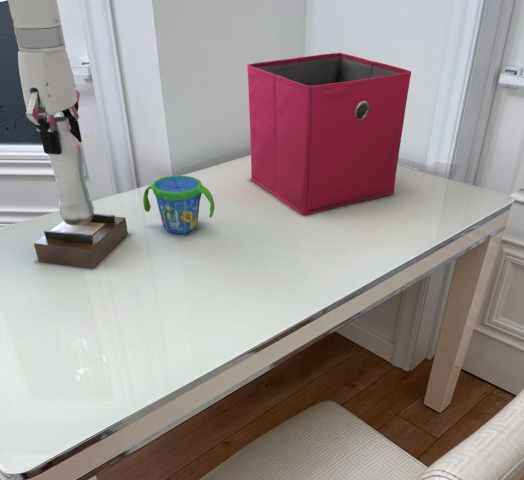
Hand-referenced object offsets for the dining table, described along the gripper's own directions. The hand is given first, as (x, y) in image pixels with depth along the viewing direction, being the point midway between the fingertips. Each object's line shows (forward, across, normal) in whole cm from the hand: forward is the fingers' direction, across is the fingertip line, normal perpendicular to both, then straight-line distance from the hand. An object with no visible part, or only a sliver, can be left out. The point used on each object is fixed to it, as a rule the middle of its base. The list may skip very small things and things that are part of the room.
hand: (63, 146), depth 103 cm
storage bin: (+21, -46, +42) cm, 66 cm away
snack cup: (+21, -14, +16) cm, 30 cm away
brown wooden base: (+21, 0, 0) cm, 21 cm away
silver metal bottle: (+15, 0, 0) cm, 15 cm away
